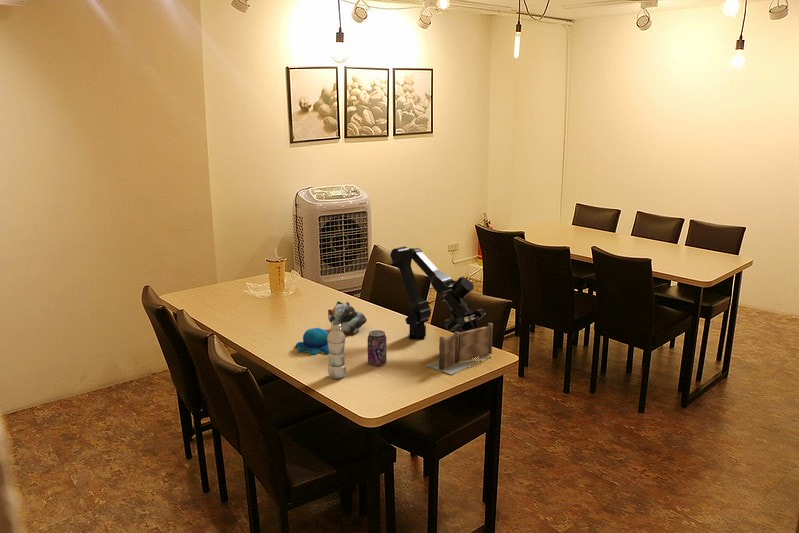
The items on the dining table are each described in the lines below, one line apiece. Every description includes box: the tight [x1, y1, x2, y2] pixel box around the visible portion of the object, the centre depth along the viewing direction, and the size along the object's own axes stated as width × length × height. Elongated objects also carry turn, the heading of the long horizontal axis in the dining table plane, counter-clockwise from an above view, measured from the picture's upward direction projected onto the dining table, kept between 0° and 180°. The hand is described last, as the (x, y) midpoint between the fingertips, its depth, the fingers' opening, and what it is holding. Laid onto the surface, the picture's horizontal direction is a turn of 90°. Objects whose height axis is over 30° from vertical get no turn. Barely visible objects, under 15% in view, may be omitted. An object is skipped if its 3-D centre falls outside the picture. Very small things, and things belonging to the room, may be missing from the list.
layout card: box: [426, 354, 492, 376], centre depth 240 cm, size 12×25×1 cm, turn 137°
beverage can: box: [367, 329, 387, 367], centre depth 237 cm, size 7×7×12 cm
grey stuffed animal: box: [327, 301, 368, 336], centre depth 273 cm, size 15×12×14 cm
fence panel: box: [458, 322, 494, 361], centre depth 242 cm, size 16×2×12 cm, turn 123°
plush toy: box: [295, 327, 330, 356], centre depth 253 cm, size 17×17×8 cm
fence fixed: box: [438, 330, 460, 370], centre depth 234 cm, size 10×2×12 cm, turn 136°
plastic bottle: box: [327, 322, 347, 380], centre depth 223 cm, size 6×7×20 cm
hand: (478, 337), depth 243 cm, fingers closed
